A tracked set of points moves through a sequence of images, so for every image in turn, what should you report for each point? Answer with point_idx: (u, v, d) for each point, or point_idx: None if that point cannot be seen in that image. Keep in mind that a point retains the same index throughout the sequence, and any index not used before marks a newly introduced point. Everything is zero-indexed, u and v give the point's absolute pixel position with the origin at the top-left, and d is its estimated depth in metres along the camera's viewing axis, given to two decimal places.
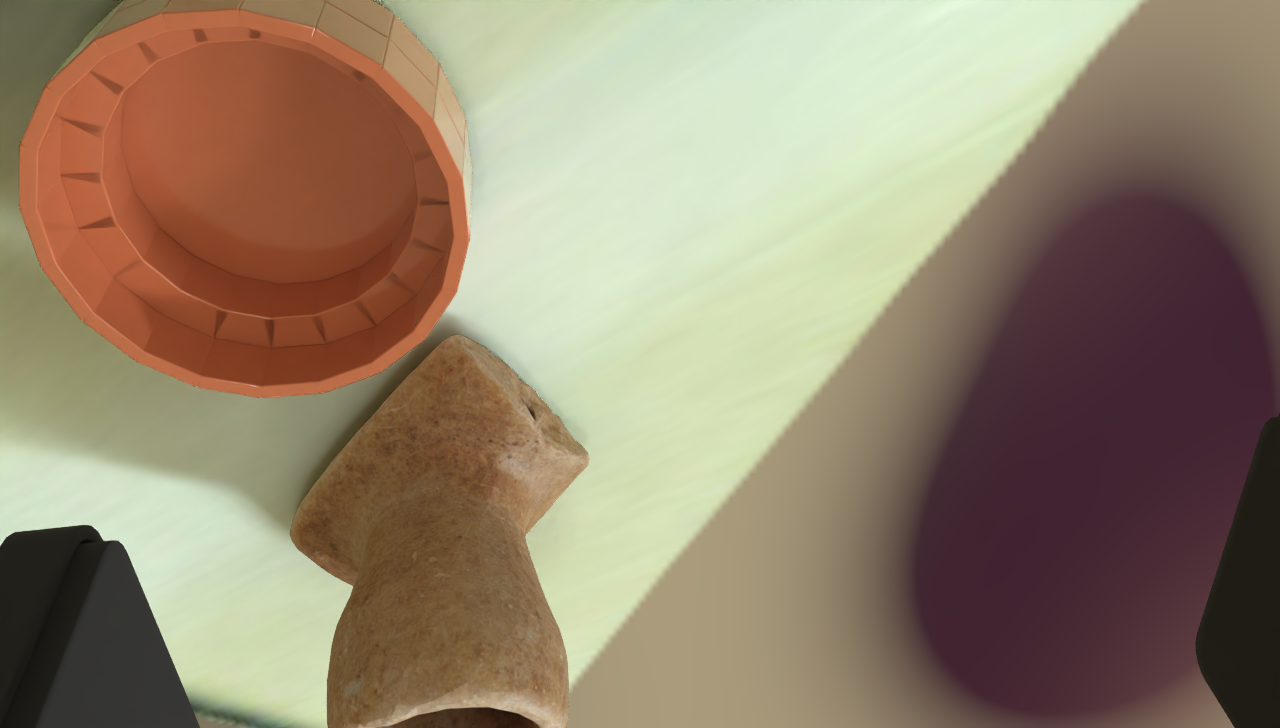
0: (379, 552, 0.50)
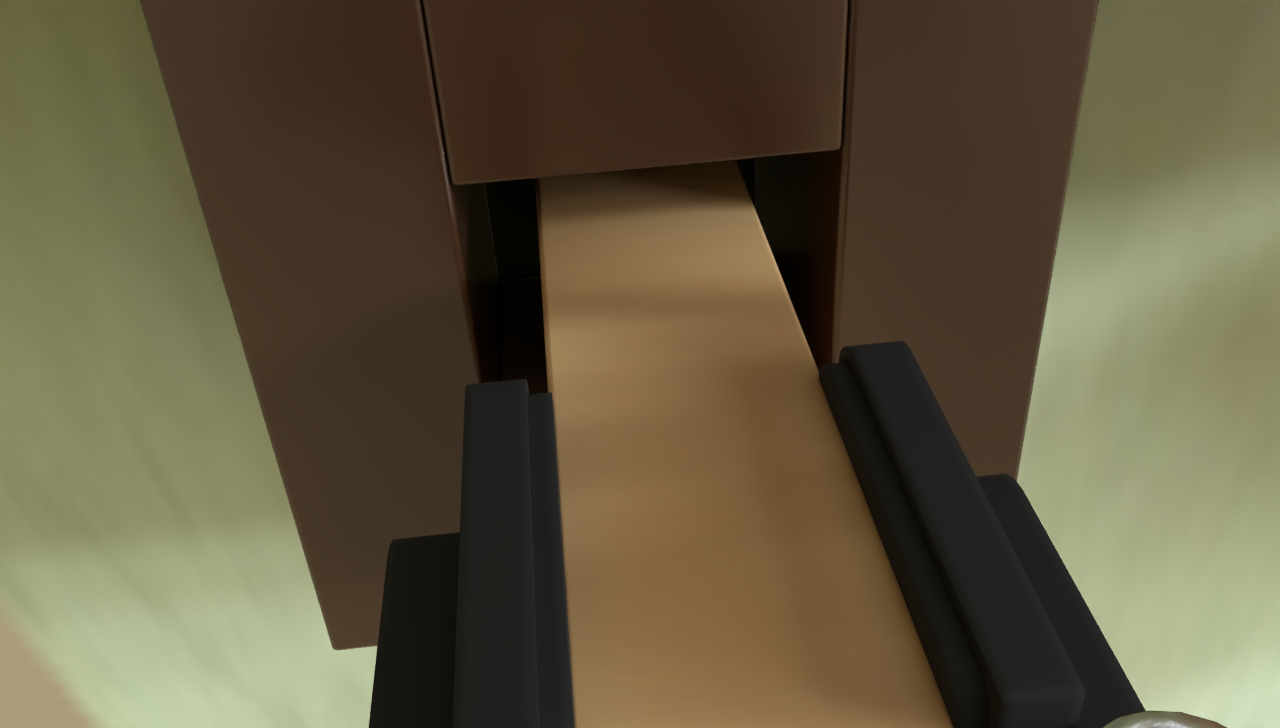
0: None
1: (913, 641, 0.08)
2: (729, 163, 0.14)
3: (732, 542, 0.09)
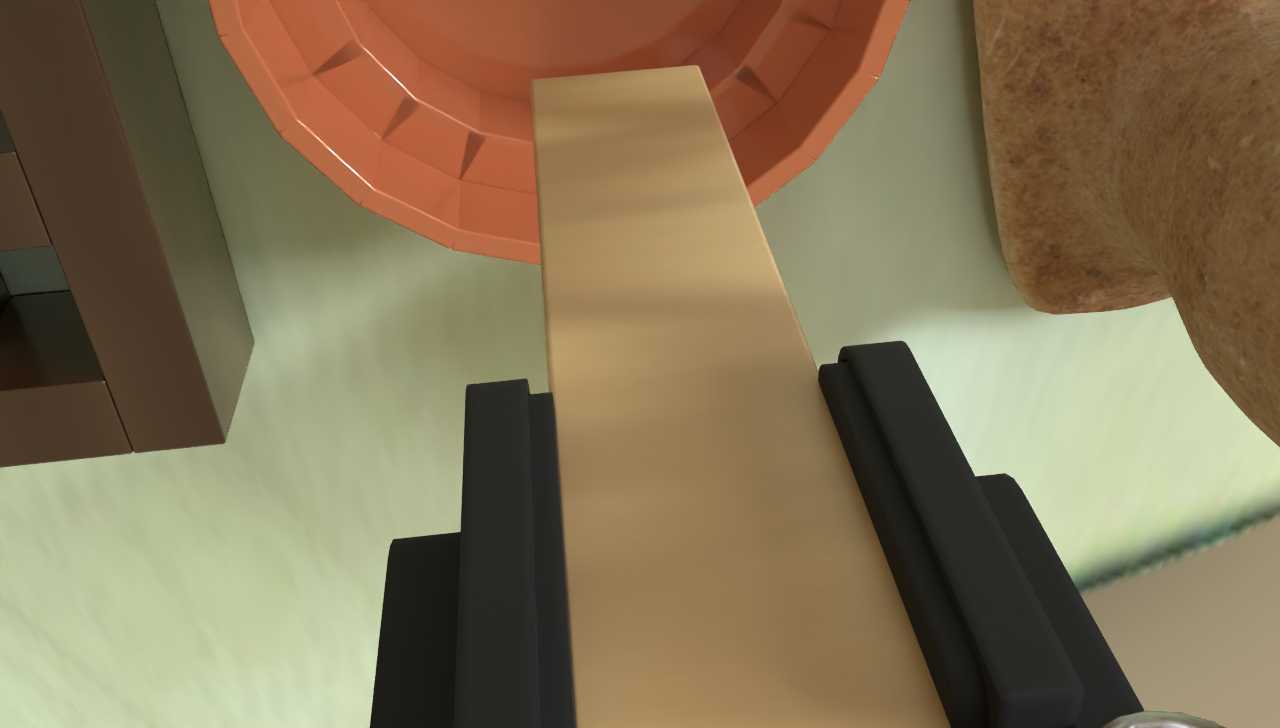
0: (1159, 212, 0.29)
1: (914, 646, 0.08)
2: (730, 166, 0.14)
3: (734, 546, 0.09)
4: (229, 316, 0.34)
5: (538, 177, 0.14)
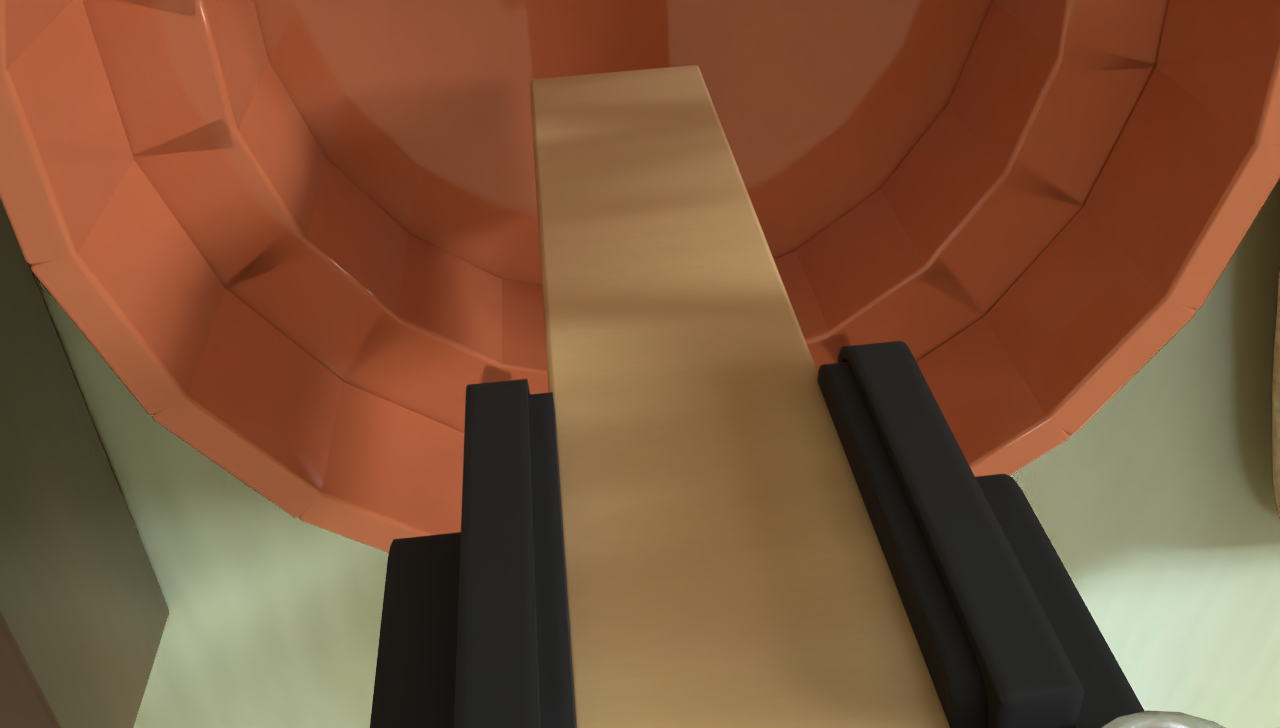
0: None
1: (912, 644, 0.08)
2: (729, 166, 0.14)
3: (733, 546, 0.09)
4: (121, 600, 0.22)
5: (538, 177, 0.14)
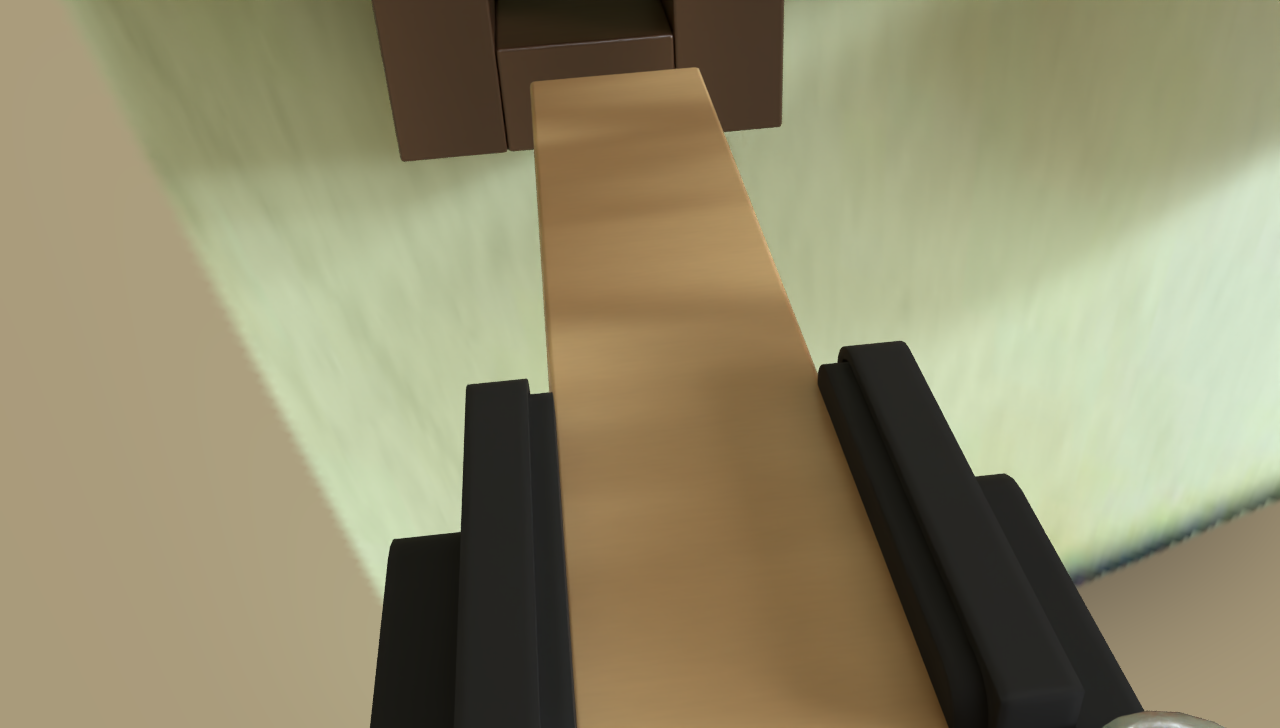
0: None
1: (914, 648, 0.08)
2: (730, 169, 0.14)
3: (735, 548, 0.09)
4: None
5: (539, 179, 0.14)
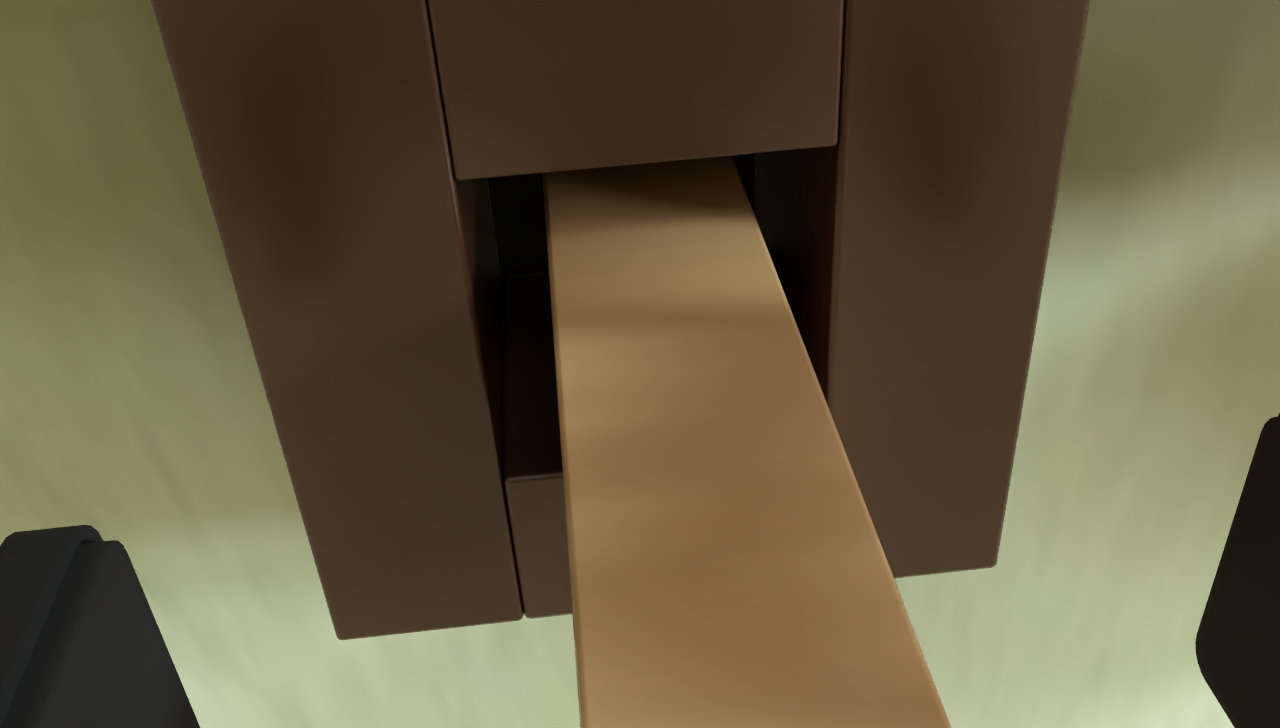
0: None
1: (909, 645, 0.08)
2: (732, 179, 0.14)
3: (736, 549, 0.09)
4: None
5: (546, 189, 0.14)
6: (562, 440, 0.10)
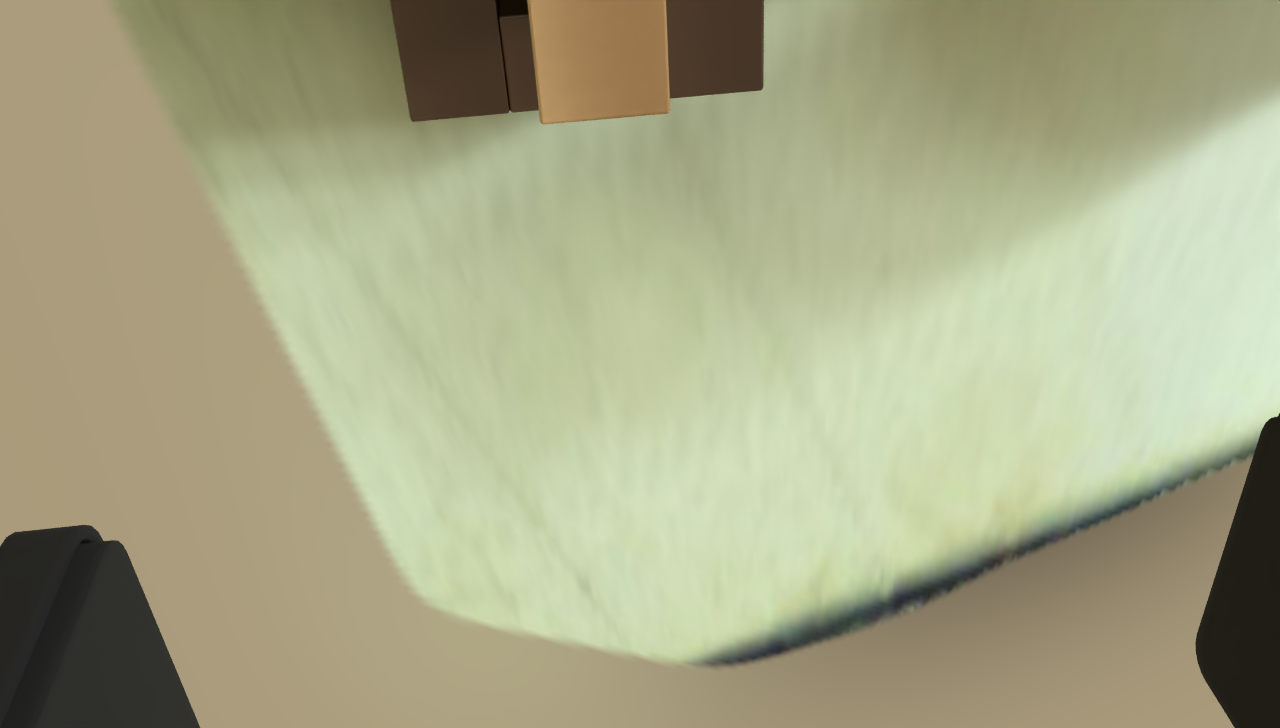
0: None
1: None
2: None
3: None
4: None
5: None
6: None
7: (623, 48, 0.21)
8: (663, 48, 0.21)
